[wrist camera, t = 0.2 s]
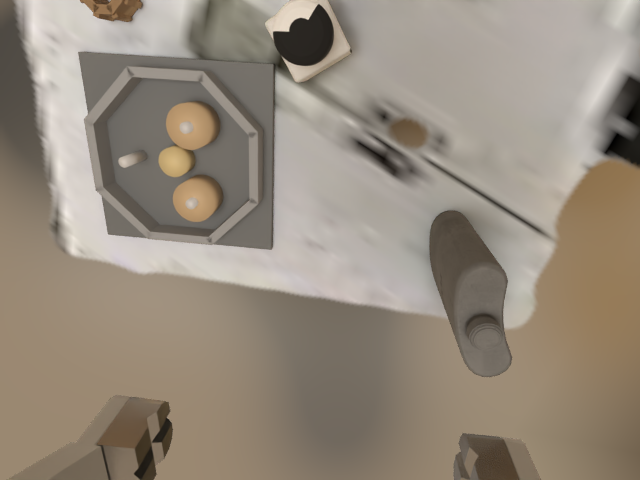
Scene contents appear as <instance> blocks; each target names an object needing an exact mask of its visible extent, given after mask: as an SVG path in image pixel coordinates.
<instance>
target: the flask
mask: <svg viewBox="0 0 640 480" xmlns="http://www.w3.org/2000/svg"><path fill="white" fill-rule="evenodd" d="M430 261H431V267H432V272H433V276H434V279H435V282H436V285H437V288H438V291H439V293H440V296H441V299H442V302H443V305H444V307H445V310H446V313H447V316H448V319H449V321H450V324H451V327H452V330H453V333H454V335H455V338H456V341H457V344H458V347H459V349H460V352H461V355H462V357H463V360H464V362H465V364H466V365H467V367H468V368H469V369H470V370H471V371H472V372H473V373H474V374H476V375H479V376H482V377H492V376H497V375H500V374H501V373H503V372H505V371H506V370H507V369H508V368H509V366H510V365H511V360H512V356H511V353H510V350H509V347H508V344H507V341H506V337H505V332H504V324H503V306H504V298H505V293H506V288H507V283H508V280H507V276H506V273H505V271H504V270H503V269H502V267H501V266H500V264H499V263H498V262H497V260H496V259H495V257H494V256H493V255H492V253H491V252H490V251H489V249H488V248H487V246H486V245H485V244H484V242H483V241H482V239H481V238H480V237H479V235H478V234H477V233H476V231H475V230H474V228H473V227H472V226H471V224H470V223H469V221H468V220H467V219H466V217H465V216H464V215H463V214H461V213H459V212H457V211H447V212H444V213H441V214H440V215H439V216H438V217H436V219H435V221H434V222H433V224H432V228H431V232H430Z"/></svg>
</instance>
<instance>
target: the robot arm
mask: <svg viewBox="0 0 640 480" xmlns="http://www.w3.org/2000/svg"><path fill="white" fill-rule="evenodd" d="M169 413H170V407H169V402H166V401H160V400H152V399H145V398H138V397H129V396H121V395H115V396H113V397H112V398H110V399H109V400H108V402H107V403H106V404H105V406H104V407H103V408H102V409H101V411H100V412H99V413H98V415H97V416H96V417H95V419H94V420H93V421H92V422H91V424H90V425H89V426H88V428H87V429H86V430H85V432H84V433H83V434H82V435H81V437H80V438H79V439H78V441H77V442H76V443H72V442H71V443H69V444H67V445H65V446H64V447H62V448H60V449H58V450H57V451H55V452H53V453H52V454H50V455H48V456H47V457H45V458H43V459H42V460H40V461H38V462H36V463H35V464H33V465H31V466H29V467H28V468H26V469H24V470H23V471H21V472H19V473H18V474H16V475H14V476H12V477H11V478H9V479H7V480H154V478H155V476H156V468H155V465H156V464H158V463H159V462H161V461H162V460H163V459H164V458H165V456H166V454H167V452H168V450H169V447H170V444H171V440H172V432H173V428H172V423H171V422H170V420H169V419H168V418H167V416H168V414H169ZM459 446H460V450H461V452H459V453H458V454H457V455H456V456H455V461H454V480H541V479H540V476H539V474H538V472H537V470H536V468H535V465H534V463H533V461H532V459H531V457H530V454H529V452H528V450H527V448H526V445H525V443H524V442H523V441H522V440H521V439H513V438H503V437H501V438H500V437H496V436H485V435H475V434H464V433H463V434H462V435H461V437H460V441H459Z"/></svg>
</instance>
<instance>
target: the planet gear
mask: <svg viewBox="0 0 640 480" xmlns="http://www.w3.org/2000/svg"><path fill="white" fill-rule="evenodd" d="M80 2H81V3H85V4H86V5H87V6H88V7H89V8H90V9H91V10H92V12H93V16H95V17H97V18H100V19H105V20H110V21H114V19H115V20H120V21H125V22H129V21H131V20H132V19H131V17H132V16H133V14H134V13H135V12H136V10H137V9H138V8H140V9H141V6H142V3H141V2H140V0H111V1H110V2H109V1H108V0H80Z"/></svg>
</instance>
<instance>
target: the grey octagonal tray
mask: <svg viewBox="0 0 640 480" xmlns="http://www.w3.org/2000/svg"><path fill="white" fill-rule="evenodd" d="M78 54H79V60H80V66H81V72H82V78H83V85H84V91H85V97H86V103H87V109H88V115H87V116H86V117H85V119H84V123H85V129H86V135H87V141H88V147H89V153H90V158H91V164H92V170H93V176H94V182H95V188H96V191H97V192H98V193H99V194H100V195H102V201H103V207H104V213H105V219H106V225H107V231H108V234H109V235H119V236H130V237H141V238H147V239H154V240H165V241H176V242H187V243H197V244H208V245H212V244H216V245H226V246H237V247H248V248H258V249H269V250H271V249H272V247H273V169H274V91H275V64H261V63H245V62H229V61H213V60H198V59H182V58H166V57H151V56H135V55H119V54H103V53H88V52H78Z"/></svg>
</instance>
